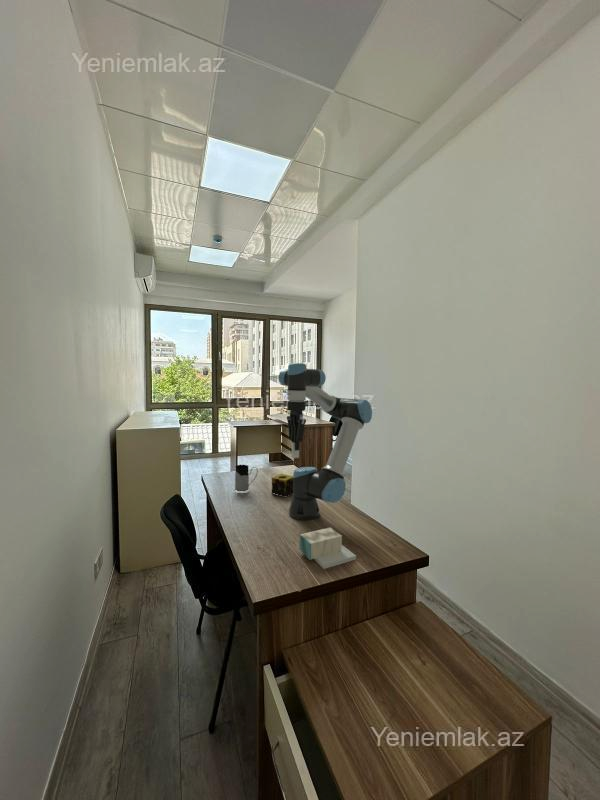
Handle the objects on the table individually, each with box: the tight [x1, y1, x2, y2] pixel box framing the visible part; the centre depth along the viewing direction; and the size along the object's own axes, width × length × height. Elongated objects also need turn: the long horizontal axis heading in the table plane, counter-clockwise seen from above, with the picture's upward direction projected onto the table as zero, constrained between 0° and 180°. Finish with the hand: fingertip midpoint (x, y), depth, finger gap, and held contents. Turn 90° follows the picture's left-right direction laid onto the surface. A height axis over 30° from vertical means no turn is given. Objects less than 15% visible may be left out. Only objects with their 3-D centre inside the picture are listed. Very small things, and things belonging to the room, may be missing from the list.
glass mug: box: [234, 464, 259, 491], centre depth 195 cm, size 9×14×15 cm, turn 119°
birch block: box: [298, 527, 343, 561], centre depth 125 cm, size 8×6×14 cm
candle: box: [271, 473, 293, 497], centre depth 191 cm, size 10×10×10 cm
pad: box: [313, 544, 357, 570], centre depth 127 cm, size 18×14×2 cm
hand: (295, 457), depth 136 cm, fingers closed
